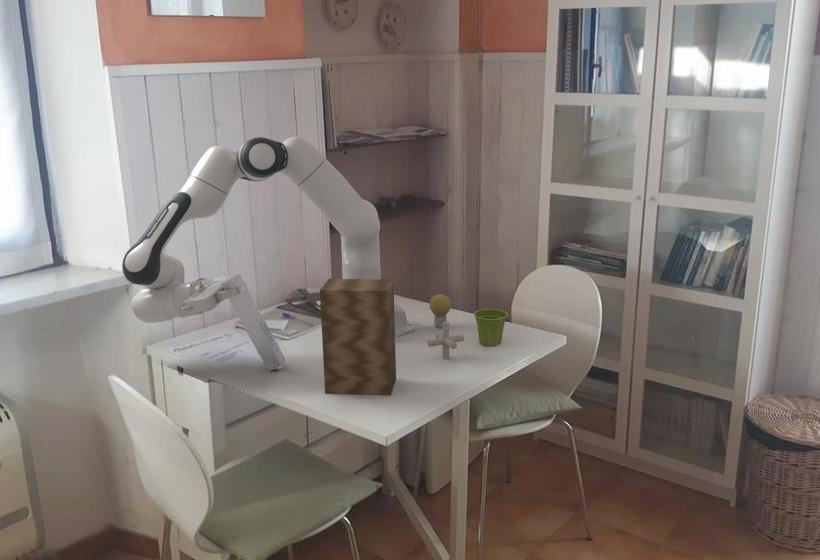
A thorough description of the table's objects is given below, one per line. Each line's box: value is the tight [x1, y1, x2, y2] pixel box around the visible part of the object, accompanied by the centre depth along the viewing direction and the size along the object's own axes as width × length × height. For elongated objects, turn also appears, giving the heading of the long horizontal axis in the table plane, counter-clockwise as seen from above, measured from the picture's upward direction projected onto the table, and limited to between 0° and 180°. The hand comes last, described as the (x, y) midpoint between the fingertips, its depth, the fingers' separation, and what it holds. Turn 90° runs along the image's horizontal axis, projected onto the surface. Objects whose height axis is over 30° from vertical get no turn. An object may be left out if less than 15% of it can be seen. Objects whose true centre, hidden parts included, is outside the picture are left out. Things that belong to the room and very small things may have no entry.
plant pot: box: [473, 308, 509, 347], centre depth 218 cm, size 9×9×9 cm
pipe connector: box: [427, 321, 465, 360], centre depth 207 cm, size 10×10×10 cm
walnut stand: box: [319, 278, 397, 396], centre depth 188 cm, size 16×10×26 cm, turn 84°
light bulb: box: [429, 293, 452, 329], centre depth 232 cm, size 6×6×10 cm
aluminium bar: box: [221, 273, 287, 372], centre depth 200 cm, size 26×4×4 cm
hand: (241, 288), depth 198 cm, fingers closed on aluminium bar, 4 cm apart
